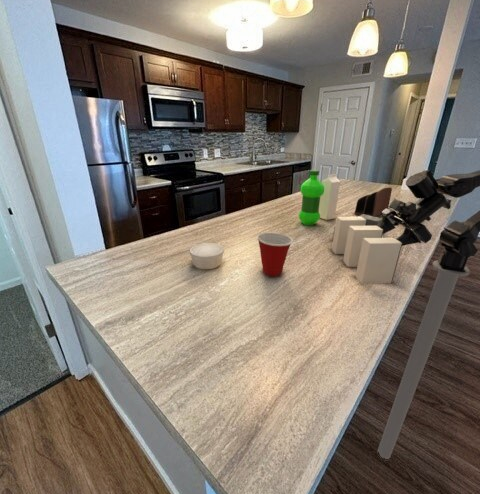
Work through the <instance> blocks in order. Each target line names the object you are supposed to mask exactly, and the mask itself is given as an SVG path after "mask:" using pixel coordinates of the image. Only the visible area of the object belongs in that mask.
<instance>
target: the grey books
mask: <svg viewBox="0 0 480 494" xmlns="http://www.w3.org/2000/svg"><path fill="white" fill-rule="evenodd" d="M357 217H363V218H365V219H366V220H367V222H366V226H378V227H379V226H380V225H381V223H382V219H383V217H379V216H376V217H374V216H369V215H365V214H362V215H357ZM334 231H335V226H334V228H333V235H332V238H333V237H334ZM332 242H333V239H332Z"/></svg>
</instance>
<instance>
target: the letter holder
mask: <svg viewBox="0 0 480 494" xmlns="http://www.w3.org/2000/svg"><path fill="white" fill-rule="evenodd" d="M392 191H393V188H392V187H383V188H381V189H380V190H377V191H374V192H373V193H370V194H366V195H363V196H362V197H359V198H358V199H357V200H356V206H355V209H354V215H357V216H360V215H362V214H365V215H369V216H374V217H379V216H381V215H382V213H381V212H382V211H383V210H384V209H386V208H389V205H390V203H391V197H392Z"/></svg>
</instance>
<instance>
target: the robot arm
mask: <svg viewBox="0 0 480 494" xmlns="http://www.w3.org/2000/svg"><path fill="white" fill-rule="evenodd" d="M405 185H406V187H407V188H408V190H409V191H410V192H411V193H412V195H413V196H414V197H415V198H416V199H418V200H417V201H416V202H415V203H414V202H412V201H407V202H404V201H402V200H399V199H396V198H393V200H392V201H391V202H390V203H389V207H388V208H386V209H384V210H383V211H382V212H381V213H382V214H381V218H383V219H382V223H381V225H380V226H379V227H380V228H381V229H383V234H382V236H383V235H384V234H387V233H389V232H390V231H393V230H395V229H396V228H397V226H402V227H404V230H403V233H402V234H400V236H398V237H397V238H396V239H397V240H399V241H400V242H402V247H404V246H409V245H413V244H421V243H423V244H427V243H428V242H430V241H431V240H432V237H433V234H432V232H430V230H429V229H428V227H427V226H426V225H425V224H423V222H426V221H427V222H430V221H431V220H432V218H431V216H432V215H433V214H435V213H436V212H437V211H439V210H440V209H441V208H444V209H446V210H450V209H451V207H452V205H451V203H452V199H449V198H447V197H446V196H448V197H451V198H457V199H458V198H462V197H464V196H467V195H468V194H470V193H472V192H474V190H475V189H476V188H479V187H480V170H479V169H478V170H476V171H473V172H468V173H453V174H446V175H443V176H441V177H440V178H435V177H434V175H433V172H432V171H431V170H430V169H424V170H423V171H420V172H417V173H414V174H413V175H410V176H409V177H408V178H407V179H406V180H405ZM479 234H480V210H478V211H476V213H474V214H473V215H471V216H470V217H469V218H467V219H466V220H464V221H458V220H452V221H451V222H450V223H449V224H448V225H446V226H444V227H443V230H442V231H440V233H439V241H440V247H443V250H442V251H440V253H439V256H438V258H437V260H438V263H439V264H440V266H441V268H442V269H446V270H452V271H458V272H466V271H465V269H464V268H465V267H466V265H467V263H468V260H469V258H470V257H474V256H475V255H477V253H478V251H479V250H478V248H477V247H476V246H475V244H474V243H475V242H477V240H478V237H479Z"/></svg>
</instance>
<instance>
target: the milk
mask: <svg viewBox="0 0 480 494" xmlns="http://www.w3.org/2000/svg"><path fill="white" fill-rule="evenodd" d="M321 183H322V184H323V185H324V193H323V195H321V196H320V204H319V214H320V219H323V220H324V221H325V220H326V221H329V220H333V219H335V218H336V211H337V204H338V199H339V191H340V185H341V180H340V179H338V177H337V173H331V174H327V178H325V179H323V180H322V181H321Z"/></svg>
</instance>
